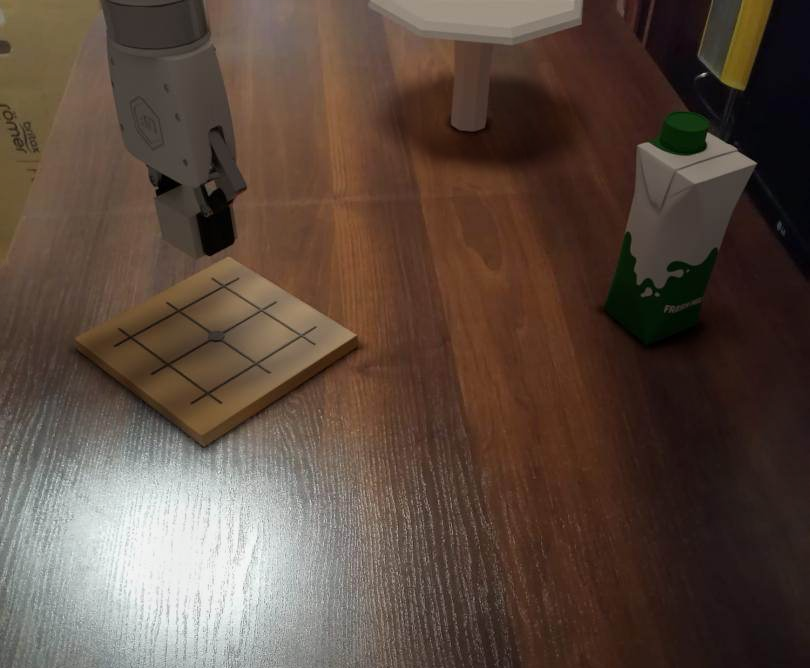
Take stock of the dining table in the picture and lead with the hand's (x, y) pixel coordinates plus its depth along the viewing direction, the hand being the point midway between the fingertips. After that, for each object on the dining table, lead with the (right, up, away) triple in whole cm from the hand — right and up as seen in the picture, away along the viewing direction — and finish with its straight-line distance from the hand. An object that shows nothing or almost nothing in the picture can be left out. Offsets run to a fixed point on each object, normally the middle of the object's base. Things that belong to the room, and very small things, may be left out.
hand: (199, 235), depth 78 cm
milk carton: (+45, -4, +14) cm, 47 cm away
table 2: (+27, +30, +41) cm, 58 cm away
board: (0, -8, +10) cm, 13 cm away
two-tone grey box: (0, 0, 0) cm, 0 cm away
